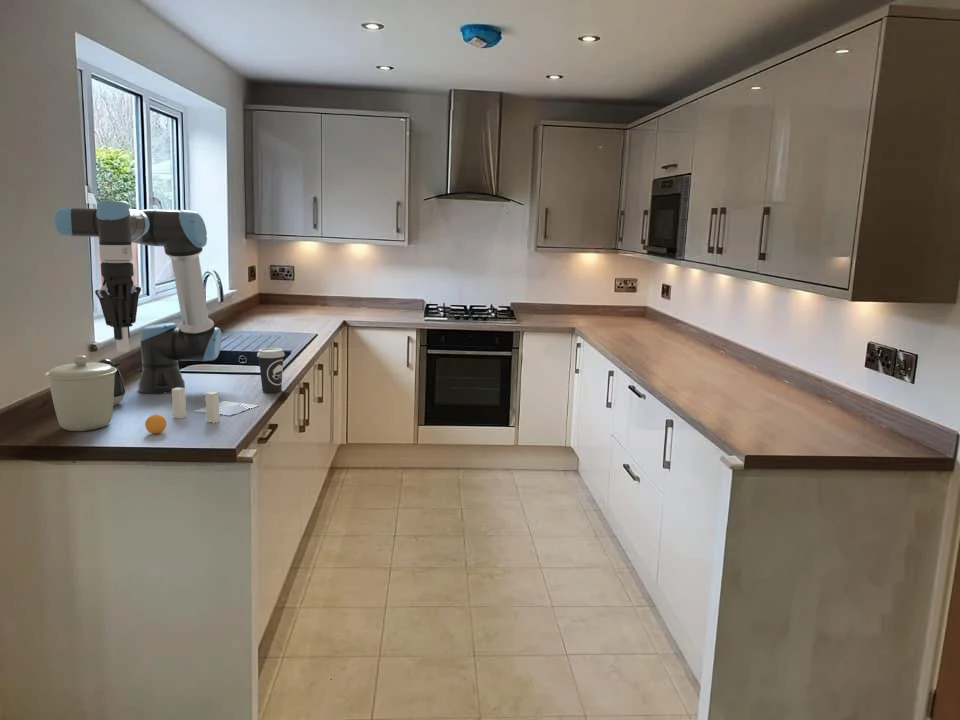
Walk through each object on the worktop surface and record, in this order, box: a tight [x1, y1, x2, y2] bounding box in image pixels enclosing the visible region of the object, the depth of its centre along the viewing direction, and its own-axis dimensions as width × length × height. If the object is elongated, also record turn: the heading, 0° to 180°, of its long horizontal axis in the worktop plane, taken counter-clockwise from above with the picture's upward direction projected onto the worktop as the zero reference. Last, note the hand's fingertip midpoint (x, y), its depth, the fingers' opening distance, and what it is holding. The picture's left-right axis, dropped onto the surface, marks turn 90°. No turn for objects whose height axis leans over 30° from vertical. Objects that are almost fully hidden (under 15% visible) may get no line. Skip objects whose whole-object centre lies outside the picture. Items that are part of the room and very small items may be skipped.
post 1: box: [171, 387, 187, 419], centre depth 219 cm, size 3×3×9 cm
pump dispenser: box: [96, 358, 126, 407], centre depth 231 cm, size 10×10×15 cm
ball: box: [144, 413, 167, 435], centre depth 203 cm, size 6×6×6 cm
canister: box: [44, 354, 117, 432], centre depth 206 cm, size 18×18×21 cm
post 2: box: [204, 391, 221, 424], centre depth 215 cm, size 3×3×9 cm
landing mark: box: [194, 400, 260, 416], centre depth 231 cm, size 14×14×1 cm
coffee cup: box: [256, 347, 286, 394], centre depth 254 cm, size 10×10×15 cm
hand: (123, 351), depth 189 cm, fingers closed
